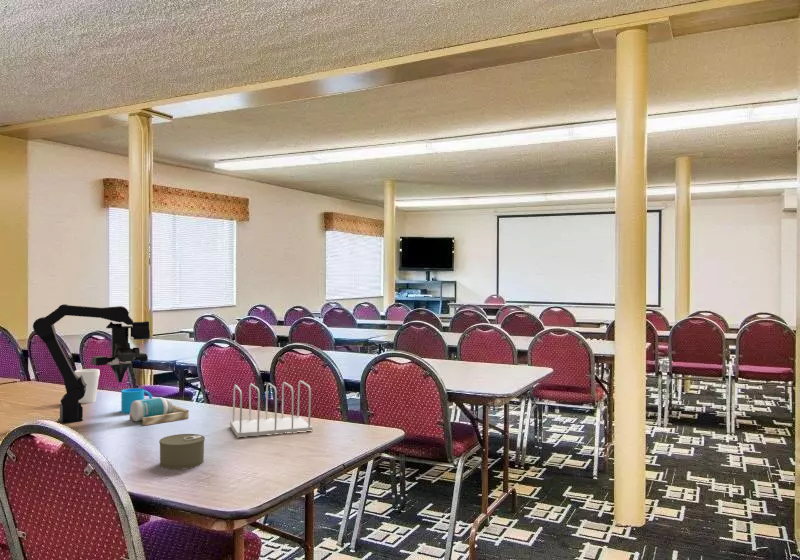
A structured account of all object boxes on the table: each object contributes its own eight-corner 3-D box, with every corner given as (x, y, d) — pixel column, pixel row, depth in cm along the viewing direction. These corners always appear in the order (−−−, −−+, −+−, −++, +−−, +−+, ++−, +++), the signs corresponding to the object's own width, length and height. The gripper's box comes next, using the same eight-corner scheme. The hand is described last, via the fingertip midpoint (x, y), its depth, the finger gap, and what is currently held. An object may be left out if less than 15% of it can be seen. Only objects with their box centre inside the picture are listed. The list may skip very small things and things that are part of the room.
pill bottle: (137, 425, 223) (173, 419, 233) (139, 405, 222) (175, 400, 232) (128, 416, 228) (164, 411, 238) (130, 397, 227) (166, 392, 237)
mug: (127, 414, 239) (127, 392, 239) (117, 411, 244) (117, 390, 244) (157, 409, 248) (157, 388, 248) (146, 406, 253) (146, 386, 253)
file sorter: (237, 439, 204) (237, 391, 204) (229, 427, 220) (230, 382, 220) (312, 432, 213) (313, 386, 213) (300, 421, 229) (300, 378, 229)
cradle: (144, 425, 220) (144, 416, 220) (129, 419, 229) (129, 411, 229) (188, 418, 232) (188, 410, 232) (173, 413, 241) (173, 405, 241)
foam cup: (69, 403, 259) (69, 371, 259) (86, 398, 268) (86, 368, 268) (87, 404, 256) (88, 372, 256) (104, 400, 265) (104, 369, 265)
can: (151, 463, 176) (152, 438, 176) (192, 455, 184) (192, 431, 184) (170, 472, 168) (170, 447, 168) (212, 463, 176) (212, 439, 176)
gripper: (102, 343, 221) (101, 387, 221) (154, 340, 234) (153, 382, 234) (90, 341, 229) (90, 384, 229) (141, 338, 242) (141, 378, 242)
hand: (119, 382), depth 233 cm, fingers closed
